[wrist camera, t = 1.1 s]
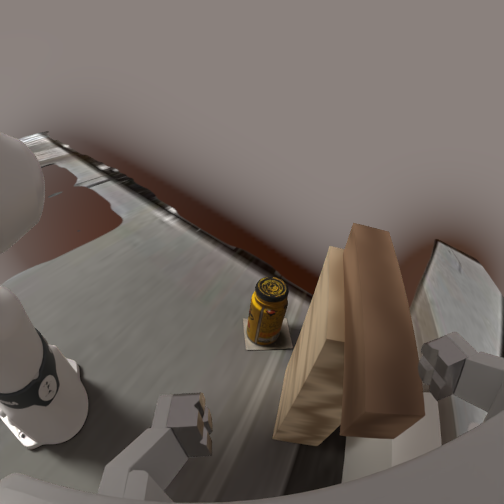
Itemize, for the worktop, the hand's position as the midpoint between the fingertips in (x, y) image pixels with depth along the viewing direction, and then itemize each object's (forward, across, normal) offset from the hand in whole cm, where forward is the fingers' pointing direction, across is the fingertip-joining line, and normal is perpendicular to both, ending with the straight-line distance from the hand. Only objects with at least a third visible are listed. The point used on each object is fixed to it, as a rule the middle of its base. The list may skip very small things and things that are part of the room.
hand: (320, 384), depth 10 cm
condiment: (+39, +1, +25) cm, 46 cm away
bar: (+12, -7, +7) cm, 16 cm away
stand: (+25, -2, +30) cm, 39 cm away
